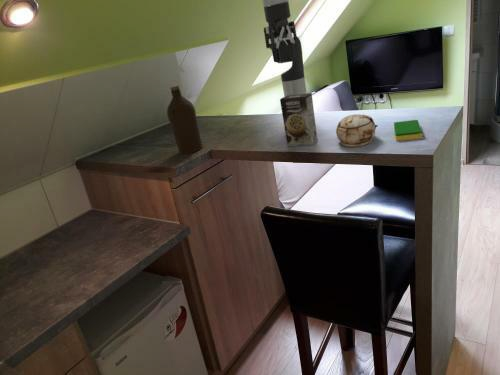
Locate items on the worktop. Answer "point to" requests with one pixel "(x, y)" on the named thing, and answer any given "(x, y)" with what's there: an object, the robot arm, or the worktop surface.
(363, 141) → the trinket box
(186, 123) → the olive oil
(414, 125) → the dish sponge
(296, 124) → the coffee box
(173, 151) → the worktop surface
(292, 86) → the robot arm
